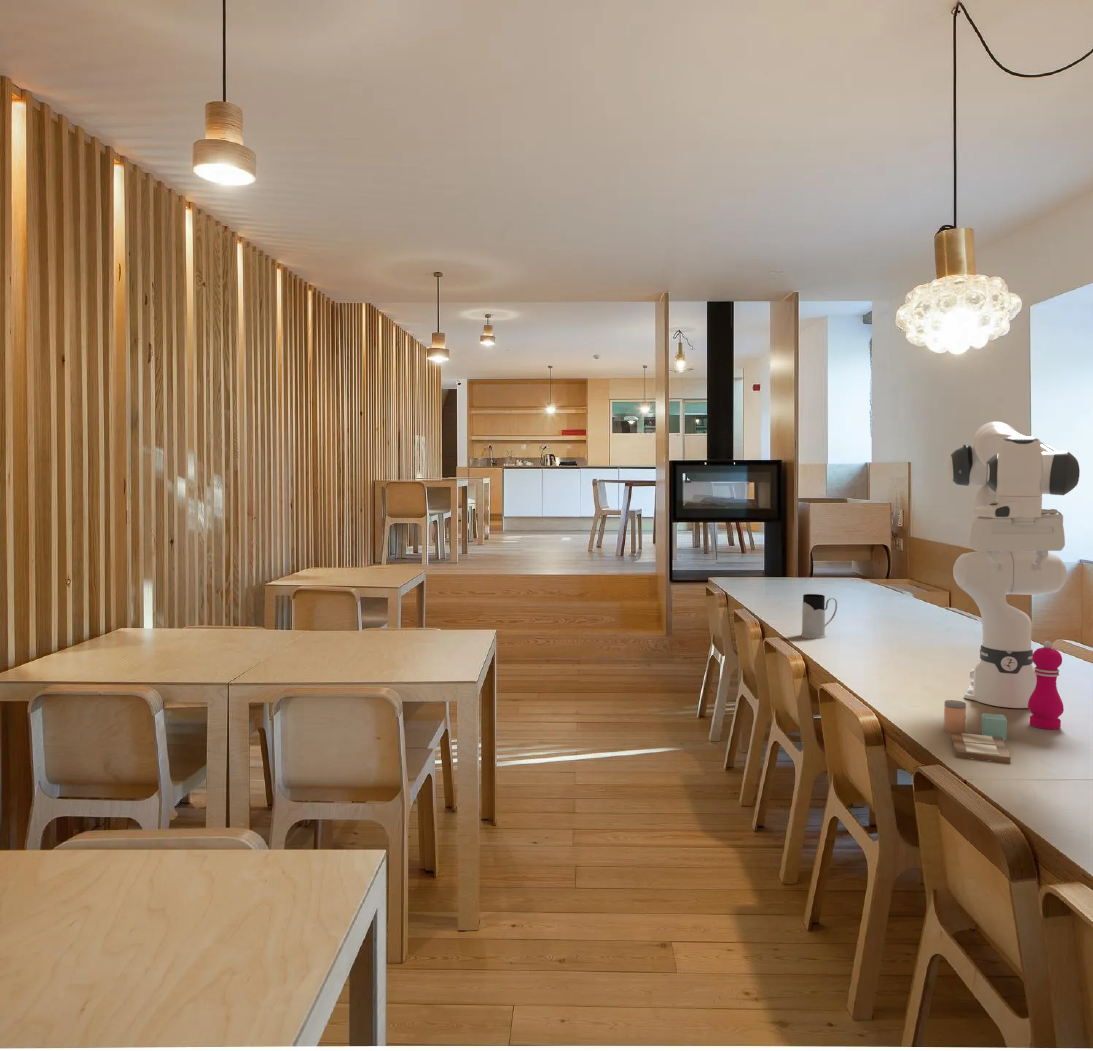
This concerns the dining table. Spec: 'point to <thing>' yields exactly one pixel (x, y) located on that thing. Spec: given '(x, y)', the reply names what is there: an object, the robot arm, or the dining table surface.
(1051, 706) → the pepper mill
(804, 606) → the glass holder
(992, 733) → the teal block
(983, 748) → the board
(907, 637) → the dining table surface
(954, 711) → the peach upright cylinder
